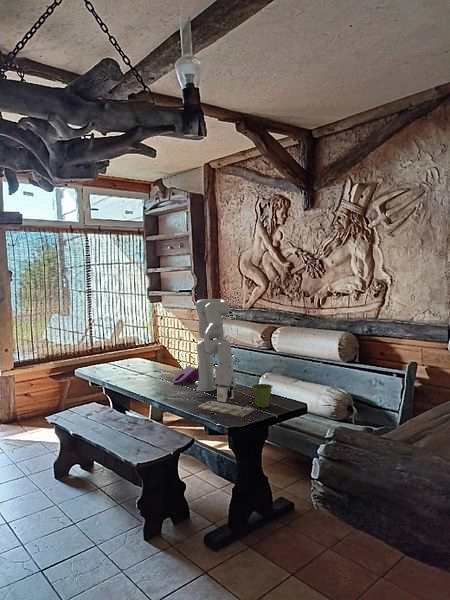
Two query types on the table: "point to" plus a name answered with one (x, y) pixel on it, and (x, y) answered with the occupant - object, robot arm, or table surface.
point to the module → (223, 393)
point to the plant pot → (262, 394)
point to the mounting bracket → (186, 375)
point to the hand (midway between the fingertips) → (225, 396)
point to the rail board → (227, 411)
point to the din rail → (226, 406)
